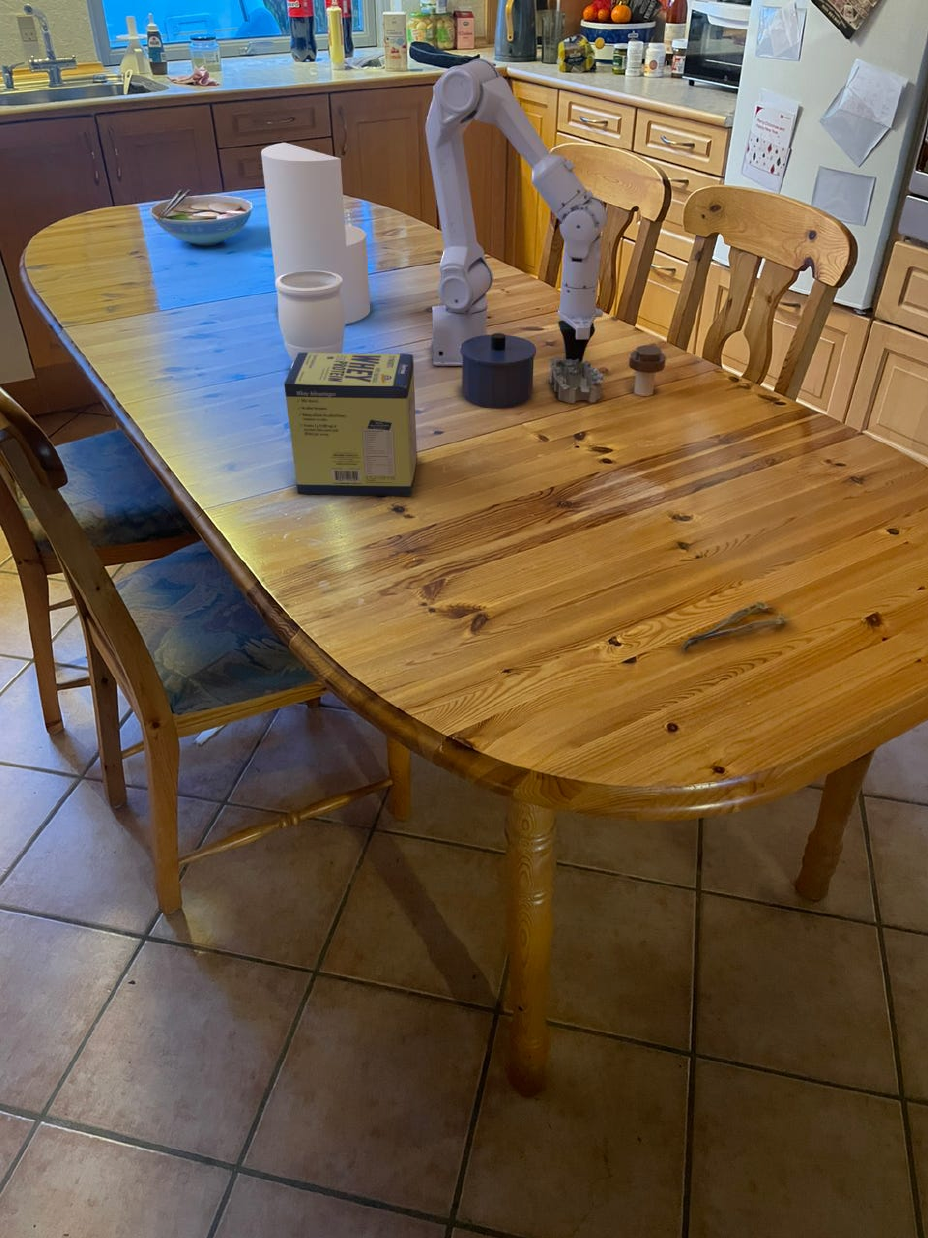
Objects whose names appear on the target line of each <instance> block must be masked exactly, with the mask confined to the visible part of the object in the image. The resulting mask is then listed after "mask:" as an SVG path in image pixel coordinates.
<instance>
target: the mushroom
mask: <svg viewBox="0 0 928 1238" xmlns="http://www.w3.org/2000/svg"><path fill="white" fill-rule="evenodd" d="M666 362H667V356H666V355H665V353H663V351H662V349H661V348H660V347H658V346H655V345H639V346H637V347H635V350H634V351H632V352H631V353H629V361H628V366H629V368H630V369H631V370H633V371H635V378H634V379H635V380H634V387H633V388H634V389H633V393H634V394H635V395H637V396H641V397H649V396H652V395H653V394H654V388H655V380H656V373H659V372H662V371H664V370H665V368H666Z"/></svg>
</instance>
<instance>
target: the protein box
mask: <svg viewBox="0 0 928 1238" xmlns="http://www.w3.org/2000/svg"><path fill="white" fill-rule="evenodd" d="M414 369H415V368H414V355H413V354H411V353H350V352H349V353H348V352H347V353H345V352H344V353H300V352H299V353H298V355H297V357H296V359H295V362H294V364H293V366H292V368H291V367H290V370H289V373H288V375H287V377H286V379H285V381H284V383H283V385H284V393H285V400H286V401H285V402H286V409H287V410H286V411H287V417H288V427H289V433H290V442H291V451H292V458H293V459H292V460H293V465H294V466H293V467H294V477H295V484H296V493H297V494H298V495H337V496H338V495H339V496H340V495H341V496H384V497H386V496H387V497H388V496H389V497H410V496H412V494H413V487H414V482H415V476H416V470H417V463H418V448H417V428H416V427H417V423H416V422H417V421H416V395H415V394H416V393H415V370H414ZM297 494H296V495H297Z"/></svg>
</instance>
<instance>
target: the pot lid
mask: <svg viewBox="0 0 928 1238" xmlns="http://www.w3.org/2000/svg"><path fill="white" fill-rule="evenodd" d="M460 353H461V355H462V356H463V357H464V358H466V359H467V360H469V361H472V362H475V363H479V364H483V365H491V366H508V365H516V364H520V363H524V362H527V361H529V360H531V359H532V358H533V357H534V358H535V356H536V355H537V346H536V345H535V343H533V342H532V341H530V340H528V339H526V338H523V337H521V336H516V335H510V334H505V333H503V332H494V333H491V334H487V335H482V336H477V337H473V338H470V339H468V340H466V341H465V342H463V343H462V344H461V346H460Z"/></svg>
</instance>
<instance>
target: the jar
mask: <svg viewBox="0 0 928 1238" xmlns="http://www.w3.org/2000/svg"><path fill="white" fill-rule="evenodd" d="M274 286H275V289H276V291H277V290H278V291H279V292H280V293H279V299H278V298H277V316H278V324H279V328H280V332H281V336H282V338H283V342H284V343H283V344H284V347H285V350H286V352H287V353H286V354H288V356H289V358H290V360H291V361H292V363H291V365H290V369H291V368H292V366H293V364H294V362H295V359H296V357H297V355H298V353H299V352H300V353H341V354H343V353H342V352H343V350H344V339H345V329H346V324H345V312H344V305H343V300H342V297H341V293H340V291H339V289H340V288H341V287H342V278H341V277H340V276H339V275H337V274H335V273H331V272H327V271H317V270H307V271H296V272H291V273H287V274H284V275H281V276H279V277H278V278H277V279H274Z"/></svg>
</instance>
